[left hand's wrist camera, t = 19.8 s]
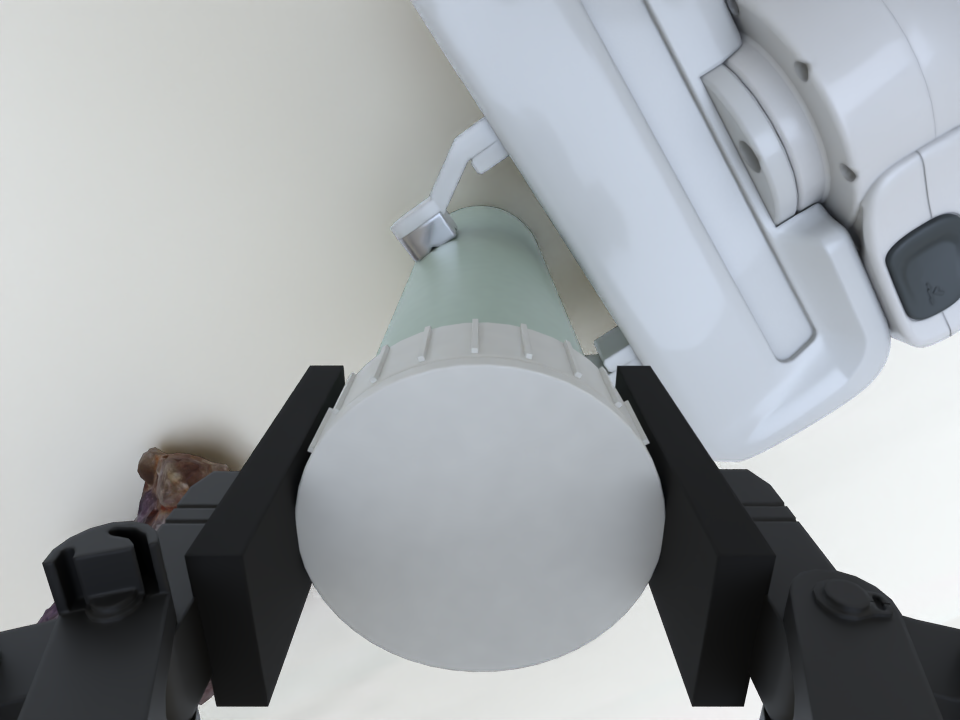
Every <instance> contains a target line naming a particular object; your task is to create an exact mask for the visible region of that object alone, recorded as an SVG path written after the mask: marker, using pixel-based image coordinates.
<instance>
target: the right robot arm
mask: <svg viewBox="0 0 960 720" xmlns="http://www.w3.org/2000/svg"><path fill="white" fill-rule="evenodd" d="M411 2H412V4H413V6H414V7H415V9H416V10H417V12H418V14H419V15H420V17H421V18H422V20H423V21H424V23H425V25H426V26H427V28H428V29H429V31H430V32H431V34H432V36H433V37H434V39H435V40H436V42H437V43H438V45H439V47H440V48H441V50H442V51H443V53H444V54H445V56H446V58H447V59H448V61H449V62H450V64H451V66H452V67H453V69H454V70H455V72H456V73H457V75H458V77H459V78H460V79H461V80H462V82H463V83H464V85H465V86H466V88H467V90H468V91H469V93H470V94H471V96H472V97H473V99H474V101H475V102H476V104H477V105H478V107H479V108H480V110H481V112H482V113H483V115H484V117H483V118H481V119H480V120H479V121H477V122H476V123H475V124H473V125H472V126H470V127H469V128H468V129H466V130H465V131H464V132H462V133H461V134H460V135H458V136H457V137H456V138H455V139H454V141H453V143H452V146H451V148H450V150H449V152H448V155H447V157H446V159H445V161H444V164H443V166H442V168H441V170H440V173H439V175H438V177H437V179H436V182H435V184H434V186H433V188H432V191H431V193H430V195H429V197H428V198H426V199H425V200H424V201H422V202H421V203H420V204H418V205H417V206H415V207H414V208H413V209H411V210H410V211H408V212H407V213H406V214H404V215H403V216H402V217H400V218H399V219H398V220H397V221H396V222H394V223H393V225H392V226H391V227H390V229H391V231H392V232H393V233H394V235H395V236H396V238H397V239H398V240H399V241H400V243H401V244H402V245H403V247H404V248H405V249H406V251H407V252H408V253H409V255H410V256H411V257H412V259H413V260H414V261H415V262H418V261H420V260H422V259H423V258H424V257H426V256H427V255H428V254H429V253H430V252H431V249H432V247H439V246H441V245H443V244H445V243H447V242H448V241H449V240H451V239H452V238H454V237H455V236H456V234H457V232H456V231H457V228H458V226H457V225H456V223H455V222H454V220H453V219H452V217H451V216H450V214H449V213H448V211H447V210H446V209H447V206H448V204H449V202H450V200H451V198H452V195H453V193H454V191H455V189H456V187H457V184H458V182H459V180H460V178H461V176H462V174H463V171H464V169H465V167H466V165H467V163H468V161H469V160H471V159H472V163H471V164H472V166H473V167H474V169H475V170H476V172H477V173H478V174H483V173H485V172H486V171H487V170H489V169H490V168H492V167H493V166H495V165H496V164H498V163H499V162H501V161H502V160H504V159H505V158H506V157H508V156H510V157H511V159H512V160H513V162H514V163H515V165H516V167H517V168H518V170H519V171H520V173H521V174H522V176H523V178H524V179H525V181H526V182H527V184H528V185H529V187H530V189H531V190H532V192H533V193H534V195H535V197H536V198H537V200H538V201H539V203H540V204H541V206H542V208H543V209H544V211H545V212H546V214H547V215H548V217H549V219H550V220H551V222H552V223H553V225H554V226H555V228H556V230H557V231H558V233H559V234H560V236H561V237H562V239H563V241H564V242H565V244H566V245H567V247H568V248H569V250H570V252H571V253H572V255H573V256H574V258H575V259H576V261H577V263H578V264H579V266H580V267H581V269H582V270H583V272H584V274H585V275H586V277H587V278H588V280H589V281H590V283H591V285H592V286H593V288H594V289H595V291H596V292H597V294H598V296H599V297H600V299H601V300H602V302H603V303H604V305H605V307H606V308H607V310H608V311H609V313H610V315H611V316H612V318H613V319H614V321H615V322H616V324H617V327H615V328H613V329H612V330H610V331H609V332H607V333H606V334H604V335H602V336H601V337H599V338H598V339H596V340H595V341H594V345H595V348H596V350H597V352H598V354H594V355H584V356H585V357H586V358H587V359H589V360H590V361H591V362H592V363H593V364H594V365H595V366H596V367H597V368H598V369H599V368H601V367H603V368H604V369H605V370H606V372H607V374H608V376H609V378H610V380H611V382H612V384H613V386H614V387H615V383H616V371H617V366H651V368H652V369H653V371H654V372H655V374H656V375H657V377H658V378H659V380H660V381H661V383H662V384H663V386H664V387H665V389H666V390H667V392H668V393H669V395H670V396H671V398H672V399H673V401H674V402H675V404H676V405H677V407H678V408H679V410H680V411H681V413H682V414H683V416H684V417H685V419H686V420H687V422H688V423H689V425H690V426H691V428H692V429H693V431H694V432H695V434H696V435H697V437H698V438H699V440H700V441H701V443H702V444H703V446H704V447H705V449H706V451H707V452H708V454H709V455H710V457H711V458H712V460H713V461H723V462H739V461H743V460H746V459H749V458H751V457H754V456H756V455H758V454H760V453H762V452H764V451H766V450H768V449H770V448H772V447H774V446H775V445H777V444H779V443H781V442H783V441H785V440H786V439H788V438H790V437H792V436H793V435H795V434H797V433H799V432H800V431H802V430H804V429H806V428H807V427H809V426H810V425H812V424H814V423H815V422H817V421H819V420H820V419H822V418H824V417H825V416H827V415H828V414H830V413H831V412H833V411H835V410H836V409H838V408H839V407H841V406H842V405H844V404H845V403H847V402H848V401H850V400H851V399H852V398H854V397H855V396H857V395H858V394H859V393H860V392H862V391H863V390H864V389H865V388H866V387H867V386H869V385H870V383H871V382H872V381H873V380H874V379H875V378H876V377H877V376H878V374H879V373H880V372H881V370H882V369H883V367H884V365H885V363H886V361H887V358H888V356H889V352H890V346H891V337H892V338H894V339H897V340H899V341H902V342H904V343H906V344H909V345H911V346H914V347H927V346H931V345H933V344H936V343H938V342H940V341H942V340H944V339H946V338H948V337H949V336H952V335H954V334H955V333H957V332H958V331H959V330H960V0H411Z"/></svg>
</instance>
